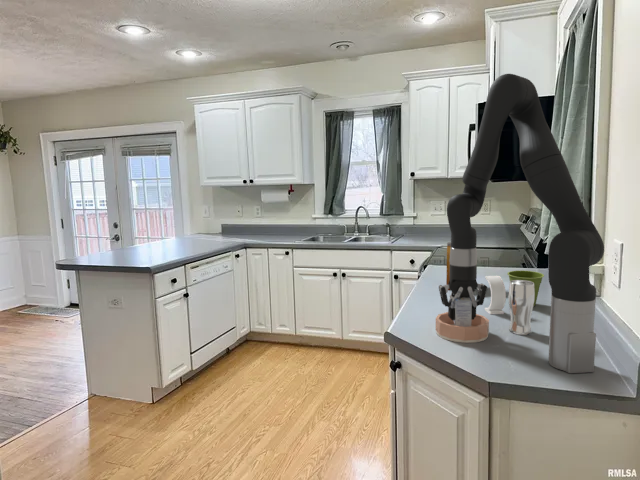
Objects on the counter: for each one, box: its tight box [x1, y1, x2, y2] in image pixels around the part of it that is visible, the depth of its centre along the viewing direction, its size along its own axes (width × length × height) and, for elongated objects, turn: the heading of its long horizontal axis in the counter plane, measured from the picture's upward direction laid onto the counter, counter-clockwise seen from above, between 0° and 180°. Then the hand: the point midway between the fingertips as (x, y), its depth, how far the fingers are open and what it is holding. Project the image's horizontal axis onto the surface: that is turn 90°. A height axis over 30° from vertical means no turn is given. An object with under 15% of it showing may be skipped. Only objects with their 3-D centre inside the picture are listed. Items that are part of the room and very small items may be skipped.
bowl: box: [435, 311, 490, 344], centre depth 131 cm, size 15×15×4 cm
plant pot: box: [507, 269, 545, 307], centre depth 158 cm, size 12×12×11 cm
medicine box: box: [453, 297, 472, 327], centre depth 131 cm, size 8×4×9 cm, turn 169°
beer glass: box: [508, 280, 535, 336], centre depth 131 cm, size 7×7×15 cm
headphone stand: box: [484, 275, 507, 315], centre depth 150 cm, size 5×6×12 cm
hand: (462, 318), depth 131 cm, fingers closed on medicine box, 5 cm apart
